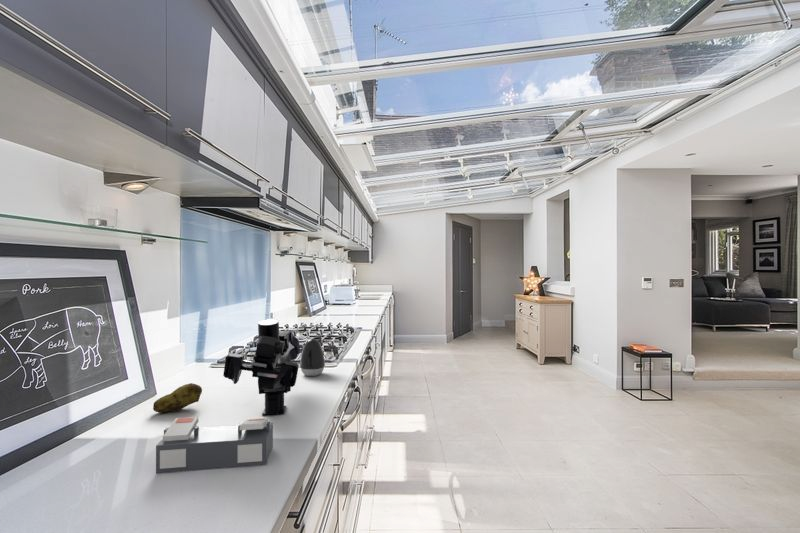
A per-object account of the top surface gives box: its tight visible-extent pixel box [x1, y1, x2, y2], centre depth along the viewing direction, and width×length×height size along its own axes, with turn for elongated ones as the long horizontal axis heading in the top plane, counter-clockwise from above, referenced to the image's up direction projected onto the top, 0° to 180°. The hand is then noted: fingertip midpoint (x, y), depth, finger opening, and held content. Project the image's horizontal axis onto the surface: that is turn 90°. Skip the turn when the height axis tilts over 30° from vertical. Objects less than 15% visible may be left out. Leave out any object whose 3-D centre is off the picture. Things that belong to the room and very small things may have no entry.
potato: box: [152, 383, 203, 414], centre depth 124 cm, size 8×13×8 cm, turn 100°
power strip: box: [155, 421, 274, 474], centre depth 91 cm, size 9×23×8 cm, turn 99°
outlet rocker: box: [162, 416, 199, 441], centre depth 90 cm, size 7×5×1 cm
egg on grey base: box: [299, 338, 326, 377], centre depth 165 cm, size 10×10×15 cm
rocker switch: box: [239, 417, 269, 430], centre depth 93 cm, size 7×5×1 cm
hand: (253, 384), depth 97 cm, fingers open, 9 cm apart
